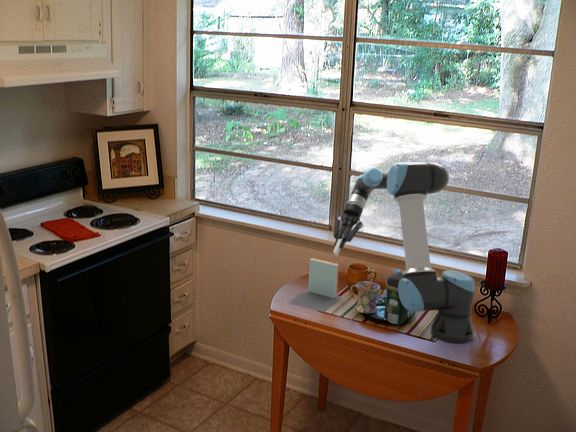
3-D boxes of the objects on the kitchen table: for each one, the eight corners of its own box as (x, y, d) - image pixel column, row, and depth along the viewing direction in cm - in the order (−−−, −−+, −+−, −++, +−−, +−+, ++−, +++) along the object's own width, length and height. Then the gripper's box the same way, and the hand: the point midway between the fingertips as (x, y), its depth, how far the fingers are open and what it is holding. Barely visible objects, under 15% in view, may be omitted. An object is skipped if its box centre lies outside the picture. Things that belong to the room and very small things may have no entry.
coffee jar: (390, 313, 254) (395, 268, 249) (409, 318, 250) (414, 273, 245) (379, 321, 246) (384, 275, 241) (399, 327, 242) (404, 280, 237)
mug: (382, 310, 256) (384, 285, 253) (371, 318, 249) (373, 292, 246) (354, 302, 262) (356, 277, 259) (343, 309, 255) (345, 284, 252)
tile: (310, 289, 271) (312, 258, 267) (336, 296, 265) (338, 264, 261) (307, 291, 269) (309, 259, 265) (334, 298, 263) (336, 265, 260)
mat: (309, 290, 272) (309, 288, 272) (343, 299, 265) (344, 297, 265) (287, 304, 257) (287, 302, 257) (324, 314, 250) (324, 312, 250)
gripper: (370, 214, 283) (351, 261, 274) (343, 209, 289) (324, 254, 280) (366, 205, 277) (347, 252, 268) (339, 199, 283) (319, 246, 274)
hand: (335, 253), depth 274 cm, fingers closed
